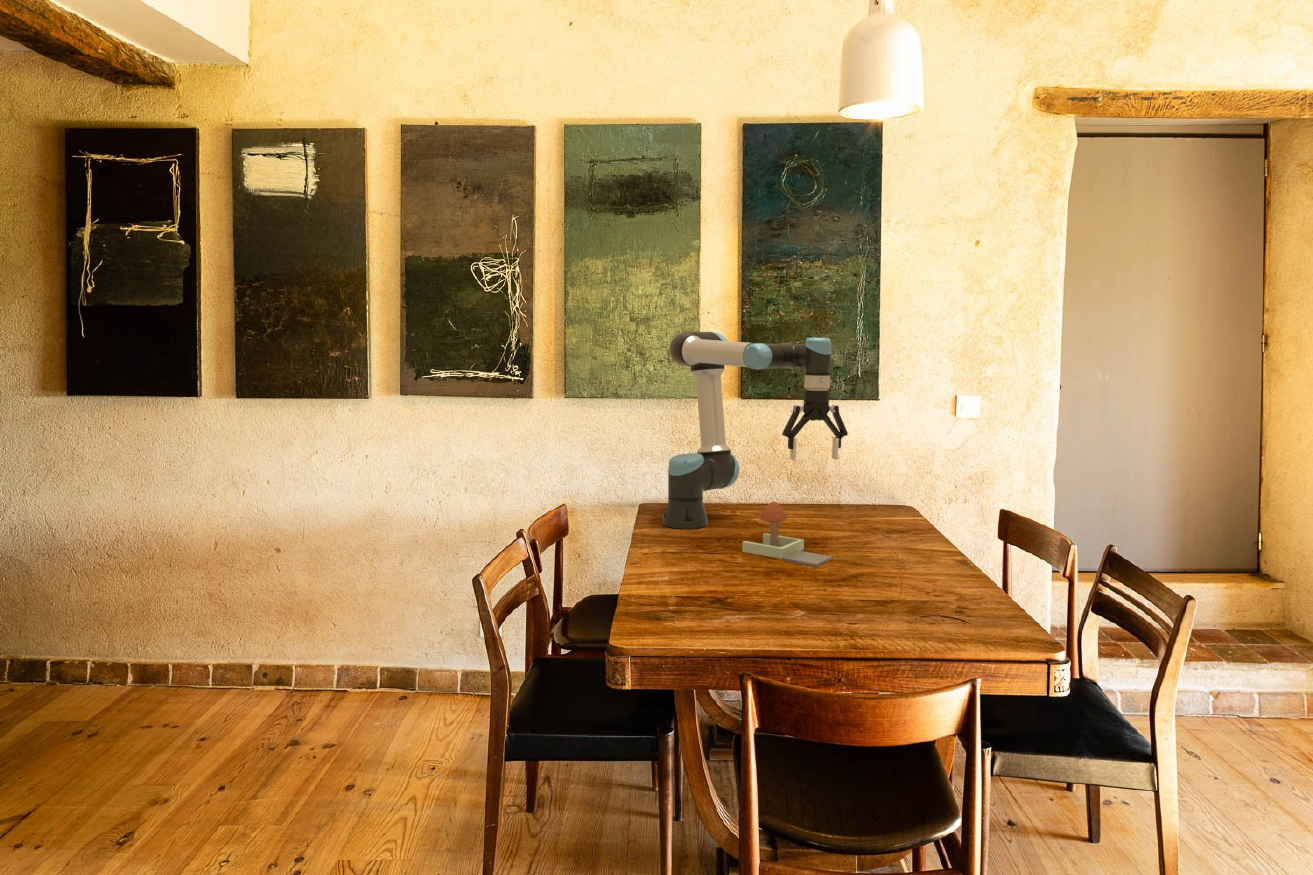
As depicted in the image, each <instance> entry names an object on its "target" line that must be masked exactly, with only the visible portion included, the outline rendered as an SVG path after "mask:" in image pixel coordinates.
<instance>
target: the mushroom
mask: <svg viewBox="0 0 1313 875" xmlns="http://www.w3.org/2000/svg"><path fill="white" fill-rule="evenodd" d="M759 518H760V520H761V521H764V522H767V523H768V522H769V531H770V532H769V534H770V546H776V547H780V544H779V539H778V536H779V535H778V523H781V522H784V521H786V520H787V519H788V516H787V514H786V511H785V510H784V508H783V507H782V506H781V505H780V504H779V503H778V502H776V501H772V502H769V504H767V506H765V508H764V509H763V510H762V512H761V514H760V517H759Z"/></svg>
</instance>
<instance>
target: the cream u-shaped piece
mask: <svg viewBox="0 0 1313 875" xmlns="http://www.w3.org/2000/svg"><path fill="white" fill-rule="evenodd" d="M770 534H771V533H763V534H762V543H758V542H752V541H747V540H744V541H742V546H741V547H742V549H741V550H742V552H741V553H748V554H753V555H759V556H765V557H769V558H773V559H774V558H775V559H779V560H783V559H784V558H786V557H788V556H790V555H793V554H795V553H797V552H799V551H804V550H805V539H803V538H801V539H800V538H796V537H788V536H783V535H778V539H779V544H780V547H776V546H770Z"/></svg>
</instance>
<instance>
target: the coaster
mask: <svg viewBox="0 0 1313 875" xmlns="http://www.w3.org/2000/svg"><path fill="white" fill-rule="evenodd" d="M832 560H833V555H827V554H826V555H825V554H820V553H815V552H814V553H813V552H809V551H804V550H802V551H799V552H797V553H795V554H793V555H790V556H788V557H786V558H784V560H783V561H784V562H789V563H794V564H798V565H805V566H810V567H815V568H817V567H820V566H821V565H824V564H825V563H828V562H829V561H832Z"/></svg>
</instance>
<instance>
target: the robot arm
mask: <svg viewBox="0 0 1313 875" xmlns="http://www.w3.org/2000/svg"><path fill="white" fill-rule="evenodd" d="M727 339H728V338H726V337H725V336H724V335H723V334H721V333H719V332H714V331H683V332H680V333H678V334H677V335H674V337H673V338H672V339H671V341H670V343H669V348H668V350H669V355H670V358H671V359H672V360H673V361H674V363H676V364H677V365H679V366H682V367H690V373H691V374H692V375H693V376H694V377H695V384H696V396H697V397H696V399H697V408H698V409H697V410H698V421H699V423H698V424H699V434H700V436H699V437H700V446H699V448H698V450H696V452H695V453H694V452H692V453H691V452H690V453H682V454H681V453H680V454H676V455H674V456H672V457H671V458H670V459H669V462H668V469H667V473H668V476H667V479H668V484H667V485H668V488H667V491H668V492H667V495H668V496H667V504H666V507H665V510H664V513H663V516H662V525H663V526H665V527H668V528H671V529H677V530H678V529H682V530H695V529H702V528H705V527H707V526H708V522H709V521H708V520H709V519H708V516H707V512H706V508H705V506H704V502H703V500H704V492H707V491H711V490H723V489H725V488H729V487H732V485H734V483H735V482H736V481H737V480H738V478H739V473H740V464H739V461H738V459H737V458H736V456H735V455H734V454H732V451H731V450H732V449H731V448H730V447H729V446H728V445H727V441H726V440H727V439H726V430H725V416H724V415H725V414H724V404H723V403H724V401H723V400H724V399H723V388H722V374H723V372H725V370H726V368H725V366H729V367H730V366H731V367H739V368H740V367H744V368H749V369H751V370H769V369H771V370H772V369H775V370H777V369H802V370H804V379H803V380H804V383H803V386H804V391H803V405H802V406H800V405H796V404H795V405H793V406H792V407H793V408H792V413H791V415H790V417H789V419H788V421H787V423H786V425H785V426H784V429H783V431H782V434H781V435H782V436H783V437H786V438H787V449H789V450H790V454H789V458H790V459H789V460H791V461H797V445H798V444H797V443H798V442H797V441H798V439H797V438H795V437H796V436H797V435H798V434H799V432H801V430H802V429H803V428H804V426H806V424H807V423H808V422H810V421H823V422H824V423H825V424H826V427H828V429H830V431H831V432H832V434H833V435H834V436H833V437H832V445H831V447H832V448H831V449H832V450H831V459H832V460H836V461H837V460H839V449H841V447H842V439H844V437H845V436H848V434H849V432H848V431H847V427H846V426H845V423H844V421H843V419H842V416H841V414H840V407H839V405H836V404H832V405H829V404H830V390H828V389H830V388H831V362H832V354H833V351H832V341H831V339H830V338H828V337H806V338H805V339H806V340H805V343H791V342H784V343H783V342H782V343H761V342H759V343H758V342H747V341H746V342H743V341H731V340H727ZM802 412H803V414H802ZM829 412H830V413H832V416H833V420H834V421H835V423H836V425H835V423H833V421H832V419H831V418H830V417H829V415H828V413H829ZM800 414H802V416H801V418H800V419H799V421H797V420H798V418H799V415H800ZM796 421H797V423H796Z"/></svg>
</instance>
